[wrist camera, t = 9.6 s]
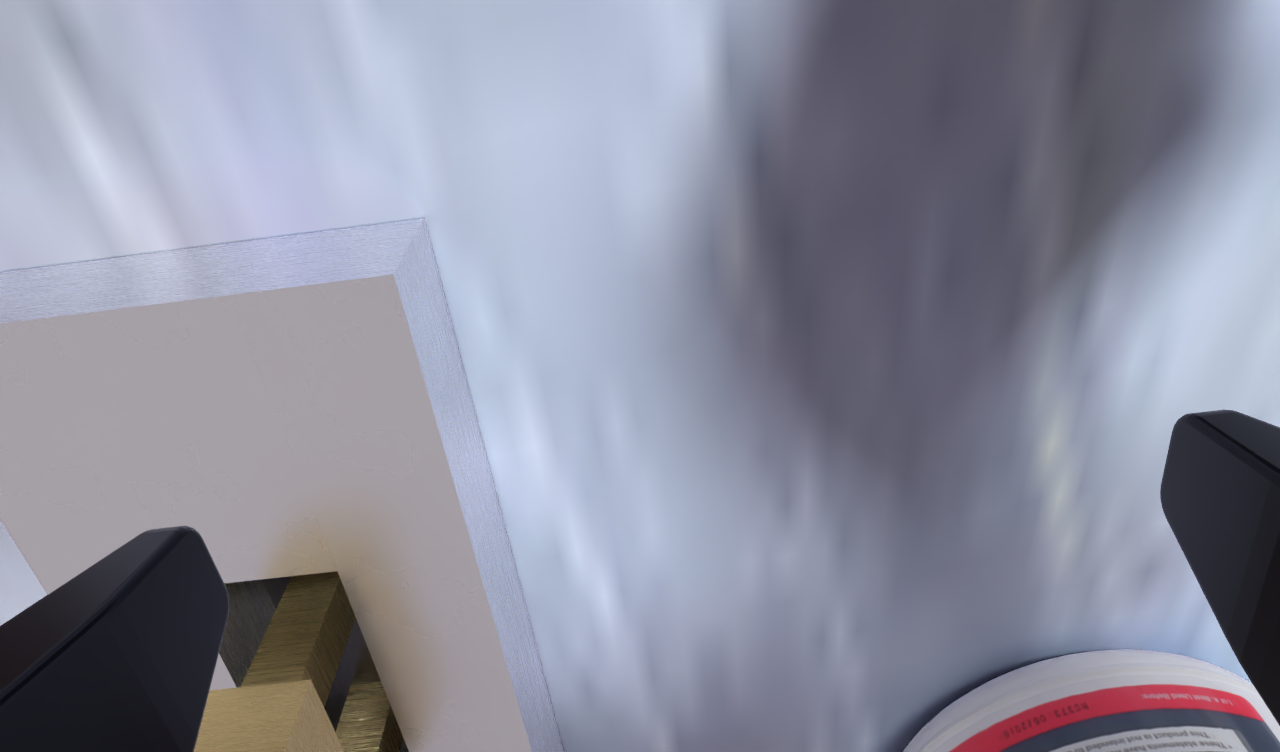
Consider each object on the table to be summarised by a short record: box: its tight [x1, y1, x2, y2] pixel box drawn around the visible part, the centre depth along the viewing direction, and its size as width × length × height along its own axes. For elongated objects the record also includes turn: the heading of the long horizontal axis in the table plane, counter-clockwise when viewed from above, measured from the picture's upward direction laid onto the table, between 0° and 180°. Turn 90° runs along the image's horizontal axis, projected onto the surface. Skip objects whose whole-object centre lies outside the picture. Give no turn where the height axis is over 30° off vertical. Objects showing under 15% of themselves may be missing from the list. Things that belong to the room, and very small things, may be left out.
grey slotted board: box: [0, 218, 564, 752], centre depth 24 cm, size 10×24×3 cm, turn 7°
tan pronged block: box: [194, 571, 403, 752], centre depth 22 cm, size 2×7×7 cm, turn 8°
